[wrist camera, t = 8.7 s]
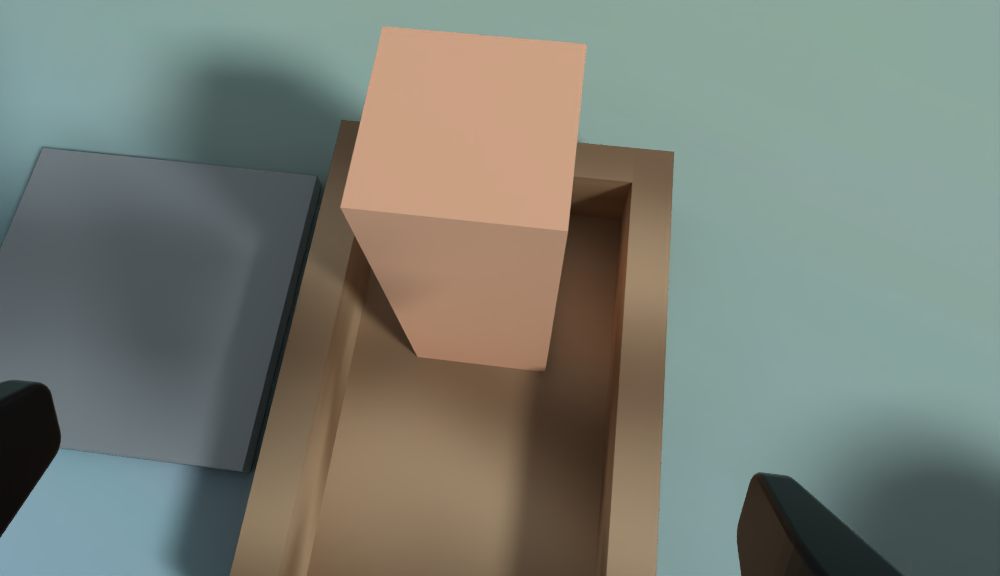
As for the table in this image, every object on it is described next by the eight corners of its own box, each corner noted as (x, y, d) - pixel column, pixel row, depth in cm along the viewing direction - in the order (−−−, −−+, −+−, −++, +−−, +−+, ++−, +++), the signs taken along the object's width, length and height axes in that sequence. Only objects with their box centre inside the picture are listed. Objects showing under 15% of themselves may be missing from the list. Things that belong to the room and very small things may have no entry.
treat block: (545, 372, 21) (568, 231, 12) (417, 356, 21) (340, 207, 12) (557, 253, 22) (586, 43, 13) (437, 241, 23) (382, 26, 13)
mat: (249, 473, 21) (242, 471, 20) (-60, 432, 21) (-77, 429, 21) (321, 184, 24) (316, 175, 24) (53, 156, 25) (43, 147, 24)
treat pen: (1083, 853, 17) (1195, 914, 14) (225, 719, 18) (173, 750, 16) (993, 232, 23) (1060, 188, 20) (353, 168, 24) (332, 119, 22)
